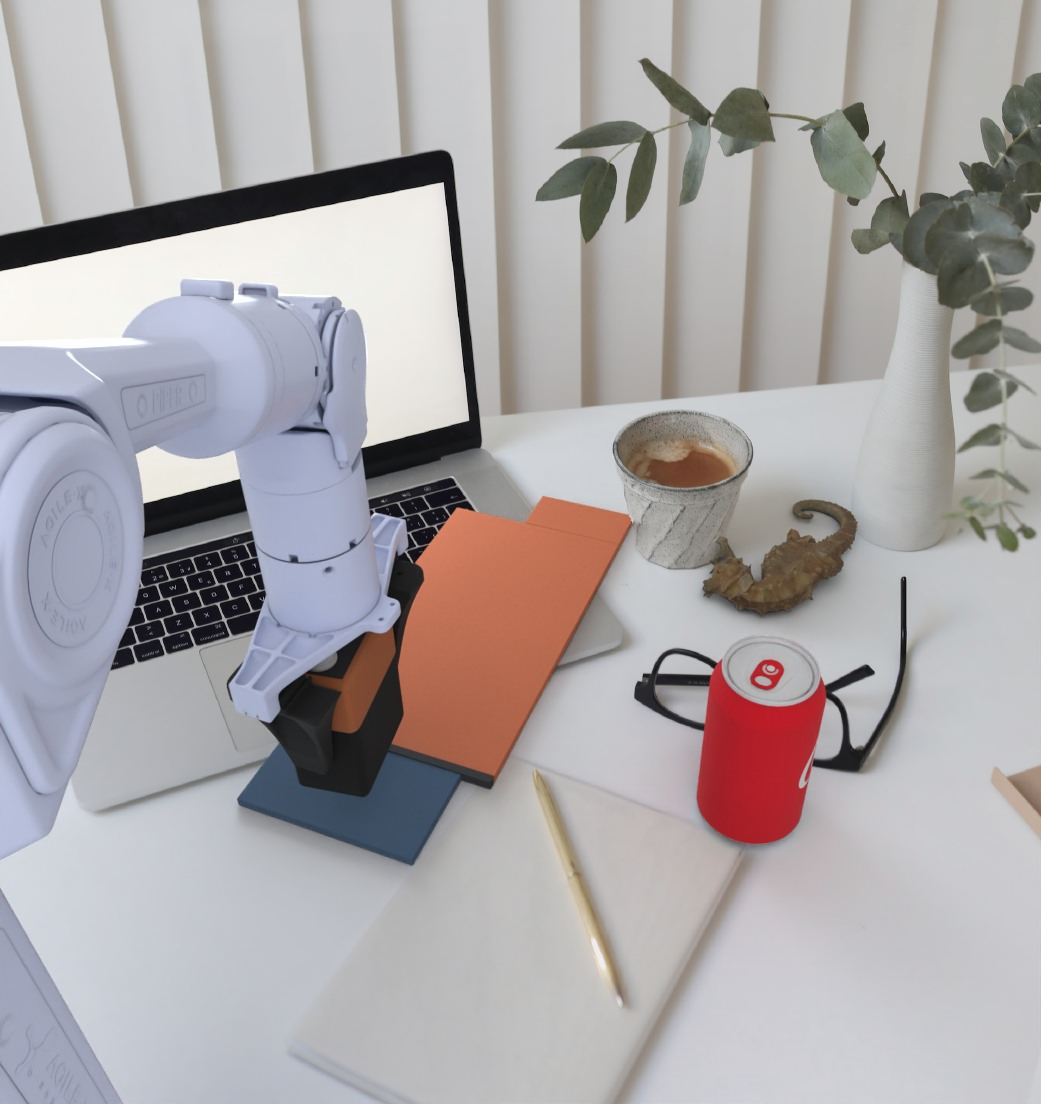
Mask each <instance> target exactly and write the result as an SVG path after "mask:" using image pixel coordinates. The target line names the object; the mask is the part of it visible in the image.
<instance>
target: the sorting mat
mask: <svg viewBox="0 0 1041 1104" xmlns="http://www.w3.org/2000/svg"><path fill="white" fill-rule="evenodd" d="M629 515H630V514H628V513H623V512H618V511H614V510H609V509H604V508H601V507H595V506H592V505H586V504H582V503H578V502H574V501H569V500H564V499H558V498H555V497H550V496H547V495H542V496H541V498H540V500H539V501H538V502H537V504H536V505H535V507H534V508H533V510H532V511H531V513H530V514H529V516H528V517H527V519H526V520H525V522H524V521H518V520H513V519H510V518H505V517H500V516H497V515H492V514H488V513H483V512H478V511H475V510H471V509H466V508H461V507H456V508H455V510H454V511H453V512H452V514H451V515H450V516H449V518H448V519H447V520H446V521H445V523H444V524H443V526H442V527H441V528H440V529H439V531H438V532H437V533H436V535H435V536H434V538H433V539H432V540H431V541H430V542H429V544H428V546H426V548H425V549H424V551H423V552H422V553H421V555H420V556H419V557H418V558H417V560H416V561H415V564H417V565H419V566H420V567H421V568H422V569H423V572H424V582H423V584H422V585H421V587H420V589H419V591H418V593H417V595H416V597H415V599H414V601H413V604H412V607H411V609H410V612H409V615H408V618H407V622H406V626H405V631H404V636H403V641H402V647H401V653H400V659H399V664H398V671H399V679H400V686H401V694H402V702H403V710H404V716H403V718H402V721H401V723H400V725H399V728H398V730H397V732H396V734H395V737H394V739H393V741H392V744H391V746H390V748H389V750H388V753H387V755H386V757H385V760H384V762H383V764H382V766H381V769H380V771H379V773H378V776H377V778H376V780H375V782H374V785H373V787H372V789H371V791H370V793H369V794H368V795H367V796H366V797H357V796H352V795H346V794H341V793H336V792H331V791H325V790H320V789H315V788H310V787H305V786H302V785H300V784H299V781H298V778H297V773H296V769H295V765H294V764H293V762H292V761H291V759H290V758H289V756H288V754H287V753H286V751H285V750H284V748H283V747H282V746H281V744H280V743H279V742H278V744H277V745H276V746H275V747H274V749H273V750H272V752H271V753H270V754H269V756H268V757H267V759H266V760H265V761H264V762H263V763H262V765H261V766H260V768H259V769H258V770H257V772H256V773H255V774H254V775H253V777H252V778H251V779H250V781H249V782H248V783H247V785H246V786H245V788H243V790H242V791H241V792H240V794H239V795H238V797H237V798H236V801H237V805H238V806H241V807H244V808H247V809H249V810H253V811H255V812H258V813H261V814H263V815H266V816H270V817H272V818H275V819H278V820H282V821H284V822H286V823H289V824H292V825H296V826H298V827H301V828H304V829H306V830H309V831H313V832H315V833H319V834H321V835H324V836H327V837H330V838H333V839H336V840H338V841H341V842H343V843H347V844H349V845H353V846H355V847H359V848H362V849H364V850H367V851H370V852H372V853H375V854H379V855H381V856H384V857H387V858H390V859H392V860H396V861H399V862H402V863H404V864H407V865H409V866H414V864H416V863H415V862H416V861H417V859H418V858H419V856H420V854H421V852H422V850H423V848H424V847H425V845H426V844H427V841H428V839H429V838H430V836H431V834H432V832H433V831H434V829H435V827H436V825H437V824H438V822H439V820H440V819H441V817H442V815H443V813H444V811H445V810H446V809H447V806H448V804H449V803H450V801H451V799H452V797H453V796H454V794H455V792H456V790H457V789H458V787H459V785H460V783H461V781H463V782H465V783H467V784H468V783H469V784H472V785H475V786H478V787H481V788H485V789H488V790H492V789H493V786H494V784H495V783H496V780H497V779H498V776H499V775H500V773H501V771H502V769H503V767H504V765H505V764H506V762H507V760H508V758H509V756H510V754H511V753H512V750H513V749H514V747H515V745H516V743H517V741H518V739H519V737H520V735H521V734H522V732H523V730H524V729H525V726H526V724H527V723H528V720H529V718H530V717H531V715H532V713H533V711H534V709H535V707H536V706H537V703H538V702H539V700H540V698H541V696H542V695H543V692H544V691H545V689H546V688H547V685H548V683H549V681H550V679H551V677H552V676H553V674H554V672H555V670H556V668H557V667H558V664H559V663H560V662H561V661H560V660H561V659H562V657H563V655H564V653H565V651H566V649H567V647H568V646H569V644H570V642H571V640H572V638H573V637H574V635H575V633H576V631H577V629H578V627H579V625H580V623H581V621H582V620H583V617H584V616H585V614H586V612H587V611H588V609H589V606H590V605H591V603H592V601H593V599H594V597H595V595H596V593H597V591H598V589H599V588H600V586H601V584H602V582H603V580H604V578H605V576H606V575H607V573H608V571H609V569H610V567H611V566H612V563H613V562H614V560H615V559H616V556H617V554H618V553H619V550H620V548H621V547H622V545H623V543H624V541H625V539H626V538H627V536H628V534H629V531H630V529H631V528H632V526H633V524H632V521H631V518H630V517H629Z"/></svg>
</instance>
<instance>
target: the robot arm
mask: <svg viewBox="0 0 1041 1104" xmlns="http://www.w3.org/2000/svg"><path fill="white" fill-rule="evenodd" d="M179 289H180V293H179V294H180V295H177V296H172V297H168V298H163V299H160V300H158V301H156V302H154V303H152V304H149V305H148V306H146V307H145V308H143V309H141V311H140V312H138V313H137V314H136V315H135V317H133V318H132V320H131V321H129V323H128V325H126V328H125V329H124V331H123V332H122V335H121V337H114V338H113V337H112V338H82V339H79V338H78V339H76V338H75V339H51V340H50V339H48V340H21V341H20V340H19V341H0V861H2V860H4V859H5V858H7V857H9V856H11V855H13V854H15V853H17V852H19V851H21V850H23V849H25V848H26V847H29V846H30V845H33V844H35V843H36V842H38V841H41V840H42V839H44V838H46V837H47V836H49V835H50V833H51V831H52V830H53V828H54V825H55V822H56V819H57V816H58V814H59V811H60V809H61V806H62V803H63V800H64V797H65V794H66V791H67V788H68V785H69V782H70V780H71V777H72V776H73V775H74V773H75V771H76V769H77V766H78V764H79V761H80V758H81V755H82V754H83V753H82V752H83V750H84V746H85V743H86V741H87V738H88V735H89V733H90V729H91V726H92V724H93V721H94V717H95V715H96V712H97V709H98V706H99V705H100V704H99V703H100V700H101V698H102V695H103V691H104V689H105V686H106V683H107V680H108V677H109V674H110V671H111V669H112V666H113V663H114V660H115V657H116V655H117V651H118V649H119V646H120V642H121V640H122V638H123V636H124V634H125V633H126V631H127V628H128V626H129V623H130V621H131V618H132V615H133V613H134V609H135V606H136V602H137V598H138V594H139V589H140V585H141V584H140V583H141V578H142V572H143V561H144V560H143V559H144V536H145V506H144V497H143V496H144V495H143V487H142V480H141V473H140V468H139V464H138V459H137V454H139V453H141V452H144V451H146V450H148V449H151V448H153V447H156V448H158V449H159V450H162V451H164V452H165V453H168V454H171V455H173V456H177V457H180V458H185V459H191V460H201V459H203V460H204V459H210V458H215V457H219V456H223V455H226V454H227V453H230V452H233V453H234V458H235V462H236V467H237V471H238V475H239V479H240V485H241V489H242V494H243V497H244V501H245V506H246V511H247V515H248V520H249V524H250V529H251V533H252V537H253V540H254V541H253V542H254V546H255V550H256V555H257V561H258V564H259V568H260V573H261V578H262V582H263V587H264V591H265V598H264V600H263V603H262V606H261V609H260V612H259V615H258V619H257V621H256V624H255V628H254V630H253V633H252V636H251V639H250V642H249V644H248V648H247V651H246V653H245V655H244V656H245V657H244V659H243V661H242V662H240V664H239V666H237V667H236V669H235V670H234V671H233V672H232V673H231V675H230V676H229V677H228V679H227V681H226V690H227V693H228V697H229V700H230V701H231V702H232V704H233V707H234V709H235V713H237V714H239V715H243V716H245V717H248V718H252V719H255V720H258V722H260V724H262V725H263V726H264V727H265V728H266V729H267V731H269V732H270V733H271V734H272V736H274V738H275V739H276V740H277V742H278V744H279V743H280V744H281V746H282V747H283V748H284V750H285V751H286V753H287V754H288V756H289V758H290V759H291V761H292V762H293V764H294V765H295V766H298V767H301V768H304V769H307V770H310V771H313V772H316V773H319V774H322V775H324V774H326V773H327V771H328V770H329V769H330V767H331V765H332V761H333V744H332V730H331V729H332V718H333V713H334V709H335V706H336V703H337V701H338V699H339V697H340V695H341V693H342V692H340V691H337V690H334V689H330V688H327V687H324V686H320V685H317V684H314V683H313V681H312V677H311V676H305V673H306V672H307V671H308V670H310V669H311V668H313V667H314V666H316V665H317V664H319V663H320V662H322V661H323V660H325V659H326V658H327V657H329V656H330V655H332V654H333V653H335V652H336V651H338V650H339V649H341V648H342V647H344V646H345V645H346V644H348V643H349V642H351V641H352V640H354V639H355V638H357V637H358V636H360V635H361V634H363V633H364V632H367V631H370V632H374V633H385V632H387V631H388V630H389V629H390V628H391V627H392V626H393V633H394V640H395V648H396V656H397V663H398V664H399V659H400V653H401V647H402V641H403V636H404V631H405V626H406V622H407V618H408V615H409V612H410V609H411V607H412V604H413V601H414V599H415V597H416V595H417V593H418V591H419V589H420V587H421V585H422V584H423V582H424V572H423V569H422V568H421V567H420V566H419V565H417V564H415V563H416V562H415V563H414V562H410V561H407V560H403V559H399V558H400V557H399V556H402V555H403V554H404V553H405V551H406V550H407V549H408V547H409V539H408V537H409V536H408V530H407V529H408V528H407V521H406V519H403V518H399V517H395V516H391V515H387V514H383V513H378V512H374V513H373V514H371V511H370V503H369V496H368V490H367V482H366V475H365V467H364V460H363V459H364V458H363V452H362V446H363V444H364V442H365V440H366V438H367V435H368V421H369V420H368V411H367V403H366V389H367V388H366V386H367V377H368V376H367V373H368V345H367V333H366V331H365V328H364V324H363V322H362V319H361V317H360V314H359V313H358V312H357V310H355V309H354V308H347V309H346V307H344V306H342V304H343V302H342V300H341V299H340V298H338V297H337V296H333V295H315V294H314V295H313V294H312V295H311V294H291V293H290V294H289V293H279V289H278V287H277V285H275V284H274V283H265V282H264V283H262V282H261V283H260V282H242V283H240V284H239V286H238V289H237V291H235V285H234V282H232V281H231V280H230V279H208V278H207V279H206V278H183V279H181V281H180V282H179ZM0 1104H124V1102H123V1101H122V1098H121V1097H120V1095H119V1094H118V1092H117V1090H116V1088H115V1086H114V1085H113V1083H112V1081H111V1079H110V1078H109V1076H108V1074H107V1073H106V1070H105V1069H104V1068H103V1065H102V1064H101V1062H100V1060H99V1059H98V1056H97V1055H96V1052H95V1051H94V1049H93V1048H92V1046H91V1044H90V1042H89V1041H88V1038H87V1037H86V1036H85V1033H84V1032H83V1030H82V1029H81V1027H80V1024H78V1022H77V1020H76V1018H75V1016H74V1015H73V1013H72V1011H71V1010H70V1008H69V1005H68V1004H67V1002H66V1001H65V999H64V996H63V995H62V994H61V992H60V989H59V988H58V987H57V985H56V983H55V981H54V980H53V978H52V976H51V974H50V971H48V969H47V967H46V966H45V964H44V961H43V960H42V958H41V957H40V955H39V953H38V952H37V950H36V948H35V946H34V944H33V943H32V941H31V939H30V937H29V936H28V934H27V932H26V930H25V929H24V927H23V924H21V922H20V920H19V918H18V917H17V914H16V913H15V911H14V909H13V908H12V906H11V903H10V902H9V901H8V899H7V896H5V893H4V892H3V890H2V888H1V887H0Z"/></svg>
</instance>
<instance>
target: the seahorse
mask: <svg viewBox="0 0 1041 1104" xmlns="http://www.w3.org/2000/svg"><path fill="white" fill-rule="evenodd" d="M803 511H817V512H821V513H824V514H827V515H830V516H832V517H833V518H835V519H836V520H837V521H838V522H839V524H840V528H839V529H838V530H836V532H834V533H832V534H830V536H829V535H826V537H825V538H823V539H822V540H821V541H820V540H818V541H816V538H814V537H813V536H812V535H810V534H807V535H803V536H800V533H799V530H797V529H794V528H791V529H789V531H788V532H787V533H786V537H785V538H786V539H785V540H786V541H784V542H783V541H782V543H781V544H778V545H776V544H775V545H773V546H772V548H771V549H770V551H769V552H768V553H764V557H763V561H762V563H761V564H760V574H761V579H760V580H756V579H755V578H754V575H753V572H752V563H750V564H749V565H747V564H745V563H744V559H743V557H739V558H738V557H737V556H736V555H735V553H734V551H733V549H732V548H731V546H730V545H729V542H728V541H729V540H728V538H727V537H725V536H722V535H720V536H719V538H718V539H717V540H716V542H715V543H716V544H717V545H718V546H719V548H720V550H721V554H720V555H717V556H716V555H715V556H714V557H715V558H714V559H713V560H709V563H710V564H712V566H713V567H712V569H711V570H710V572H709V573H708V574H709V575H711V576H710V577H709V578H706V579H704V580H703V581H702V584H703V586H702V592H703V597H707V598H711V597H712V596H713V595H718V596H720V597H723V598H725V599H726V600H729V601H732V602H733V603H734V604H735V608H736V611H737V612H739V611H742V610H743V609H748V610H749V611H752V610H754V611H756V612H758V613H759V614H760V616H761V617H762V618H764V616H765V615H766V613H768V612H769V611H772V612H779V611H781V610H786V611H788V612H792V608H793V606H794V605H797V604H801V603H802V602H803V601H804V599H808V600H810V601H814V598H813V596H812V595H813V592H814V590H815V589H816V587H817V585H818V584H819V583H820V582H821V581H823V580H825V581H827V580H828V579H829V578H831V577H834V576H837V575H838V574H839V573H841V572H842V570H843V567H844V566H845V563H844V560H843V559H842V555H844V554H845V552H847V551H848V549H849V550H852V545H853V544H854V542H855V541H856V540H855V539H856V538H855V537H856V533H857V530H858V523H859V521H857V518H855V515H853V513H852V511H850V510H849V509H847V508H845V507H844V506H842V505H839V504H838V503H836V502H831V501H826V500H823V499H803V500H799V501H797V502H795V503H794V504H793V506H792V513H793V515H794V516H795V517H796V518H798V519H800V520H807V521H808V520H812V519H813V518H814V517H815V516H814V513H813V512H809V513H805V512H803Z"/></svg>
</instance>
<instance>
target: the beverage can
mask: <svg viewBox="0 0 1041 1104" xmlns="http://www.w3.org/2000/svg"><path fill="white" fill-rule="evenodd" d="M821 673H822V672H821V667H820V665H819V662H818V661H817V659H816V657H815V655H814V654H812V652H811V651H810V650H809V649H807V648H806V647H805V646H804V645H802V644H800V643H799V642H796V641H794V640H793V639H790V638H787V637H784V636H781V635H776V634H775V635H774V634H753V635H749V636H745V637H743V638H740V639H738V640H736V641H735V642H733V643H732V644H731V645H729V647H727V649H726V650H725V652H724V654H723V656H722V658H721V659H720V660H719V661H718V662H717V664H716V665H715V666H714V668H713V671H712V673H711V675H710V679H709V686H708V694H707V695H708V696H707V701H706V709H705V710H706V711H705V720H704V728H703V736H702V746H701V753H700V762H699V769H698V770H699V771H698V779H697V787H696V804H697V808H698V810H699V812H700V814H701V816H702V818H703V819H704V821H705V822H706V823H707V824H708V825H709V826H710V828H712V829H713V830H714V831H715V832H717V833H718V834H720V835H721V836H723V837H725V838H727V839H729V840H731V841H734V842H737V843H741V844H745V845H746V844H747V845H767V844H771V843H775V842H778V841H780V840H782V839H784V838H785V837H787V836H788V835H790V834H791V833H792V832H793V831H794V830H795V829H796V827H797V826H798V824H799V822H800V820H801V818H802V815H803V814H802V813H803V808H804V803H805V800H806V795H807V791H808V785H809V781H810V778H811V777H810V776H811V773H812V767H813V763H814V758H815V754H816V750H817V744H818V740H819V735H820V730H821V727H822V726H821V725H822V722H823V717H824V712H825V707H826V703H827V691H826V685H825V682H824V680H823V677H822V676H821Z"/></svg>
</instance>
